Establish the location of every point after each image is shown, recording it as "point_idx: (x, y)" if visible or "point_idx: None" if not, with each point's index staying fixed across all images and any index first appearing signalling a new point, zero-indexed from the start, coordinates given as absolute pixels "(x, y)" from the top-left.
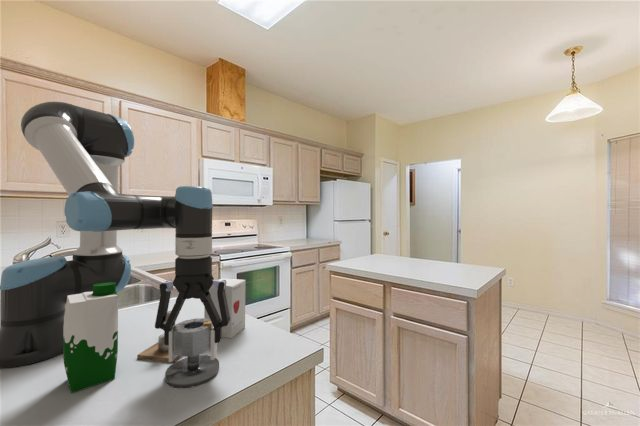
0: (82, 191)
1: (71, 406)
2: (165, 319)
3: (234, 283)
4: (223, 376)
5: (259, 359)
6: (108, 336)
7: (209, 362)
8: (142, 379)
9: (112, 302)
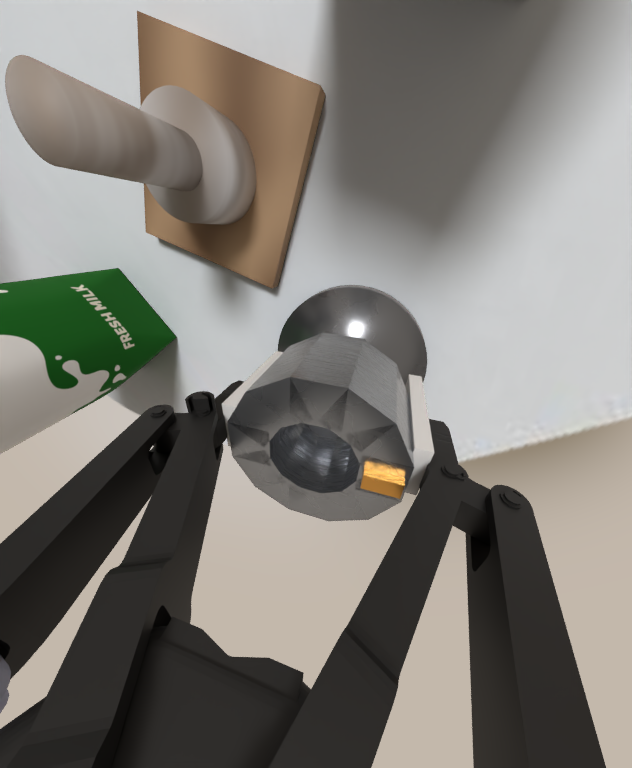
0: None
1: (173, 405)
2: (163, 427)
3: None
4: (435, 397)
5: (598, 328)
6: (64, 405)
7: (393, 348)
8: (236, 355)
9: None
